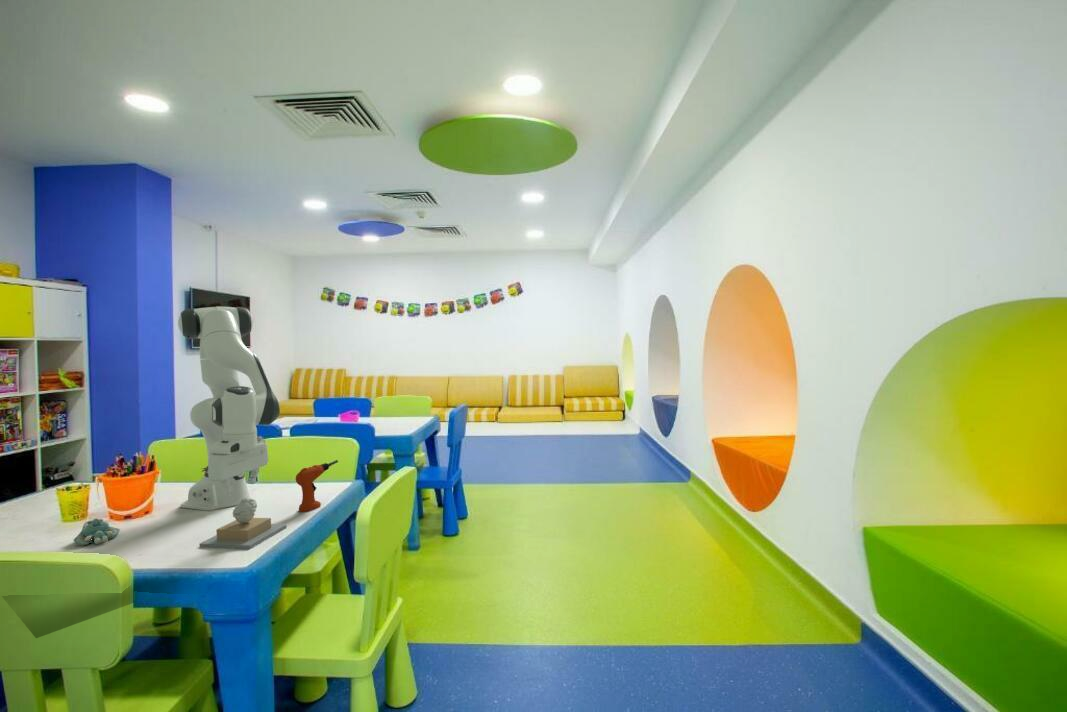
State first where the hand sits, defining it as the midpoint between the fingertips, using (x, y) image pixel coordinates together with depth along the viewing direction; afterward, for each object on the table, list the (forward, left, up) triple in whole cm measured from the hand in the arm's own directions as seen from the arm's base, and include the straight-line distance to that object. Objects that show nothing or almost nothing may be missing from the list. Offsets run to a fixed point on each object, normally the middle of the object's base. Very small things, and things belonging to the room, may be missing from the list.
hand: (240, 487), depth 151 cm
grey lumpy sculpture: (+1, +1, -11) cm, 11 cm away
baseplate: (+1, 0, -15) cm, 15 cm away
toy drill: (+6, +30, -15) cm, 34 cm away
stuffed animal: (-44, -6, -15) cm, 47 cm away
